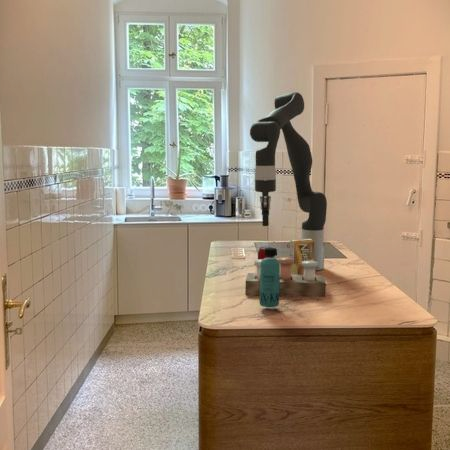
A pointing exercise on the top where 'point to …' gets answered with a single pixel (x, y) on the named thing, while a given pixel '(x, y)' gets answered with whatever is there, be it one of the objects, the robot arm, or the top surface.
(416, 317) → the top surface
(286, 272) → the brown mushroom peg
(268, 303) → the beverage bottle
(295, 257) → the candy box
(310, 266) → the grey plug
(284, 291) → the walnut socket board
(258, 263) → the grey plug
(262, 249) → the beverage can
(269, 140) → the robot arm
